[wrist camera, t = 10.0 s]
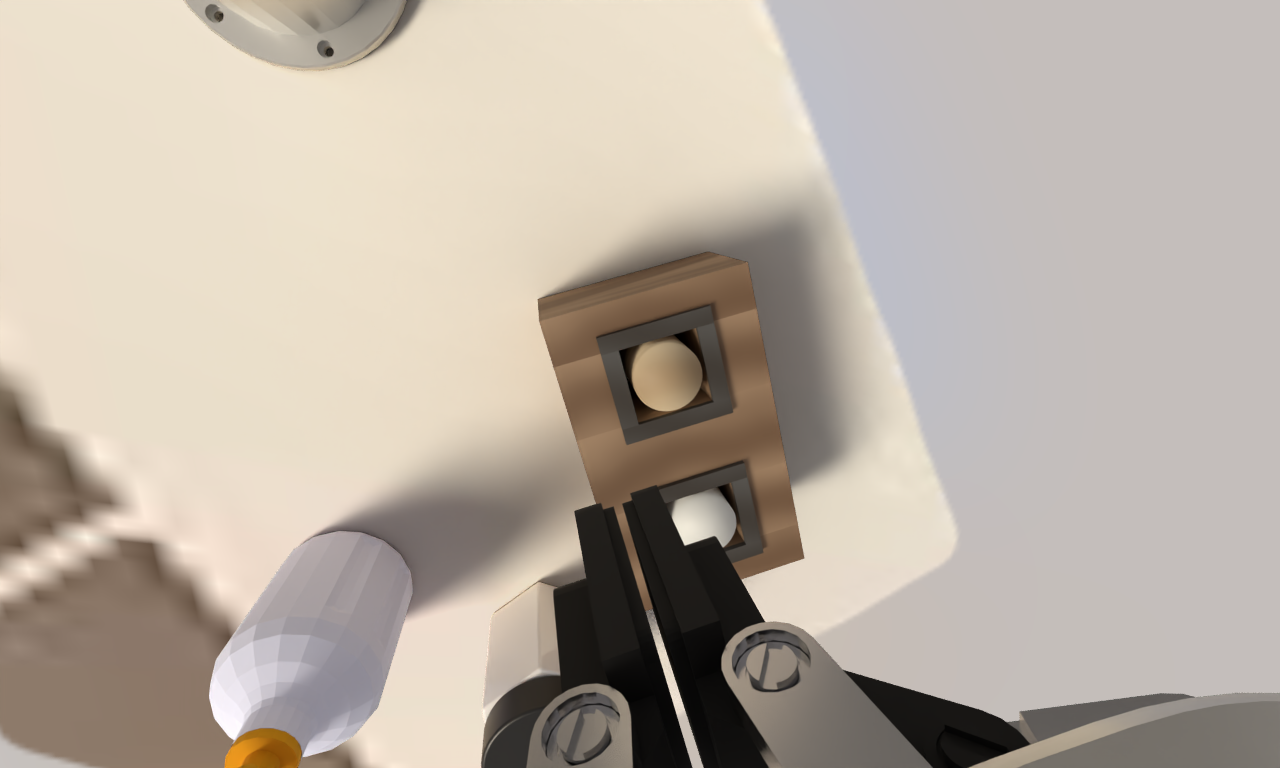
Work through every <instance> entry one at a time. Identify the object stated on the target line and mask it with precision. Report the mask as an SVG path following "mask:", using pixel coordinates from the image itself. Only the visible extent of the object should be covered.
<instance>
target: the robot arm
mask: <svg viewBox="0 0 1280 768" xmlns="http://www.w3.org/2000/svg"><path fill="white" fill-rule="evenodd" d="M406 1H407V0H184V2H185V3H186V4H187V6H188V7H189V8H190V10H191V11H192V12H193V13H194V14H195V15H196V16H197V17H198V18H199V19H200V20H201V21H202V22H203V23H204V24H205V25H206V26H207V27H208V28H209V29H210V30H211V31H213V32H214V33H216V34H217V35H218V36H220V37H221V38H222V39H224V40H225V41H227V42H228V43H229V44H231V45H232V46H234V47H236V48H237V49H239V50H241V51H243V52H245V53H246V54H248V55H250V56H252V57H255V58H257V59H260V60H262V61H265V62H267V63H270V64H272V65H275V66H279V67H284V68H289V69H294V70H305V71H322V70H327V69H333V68H338V67H343V66H345V65H347V64H350V63H352V62H355V61H357V60H359V59H362V58H363V57H364V56H366V55H367V54H369V53H370V52H371V51H373V50H374V49H376V48H377V47H378V46H379V45H380V44H381V43H382V42H383V41H384V40H385V39H386V37H387V36H388V35H389V34H390V33H391V32H392V31H393V29H394V27H395V25H396V24H397V22H398V20H399V18H400V16H401V15H402V13H403V11H404V7H405V4H406ZM221 13H223V14H224V17H223V20H222V21H221V22H219V20H218V16H219V14H221ZM329 48H332V49H333V50H334V54H333V56H331V57H328V56H327V55H326V51H327V49H329ZM630 495H631V499H632V500H631V501H628V502H625V503H622V505H623V509H624V512H625V516H626V519H627V522H628V526H629V529H630V533H631V536H632V539H633V543H634V546H635V550H636V553H637V556H638V560H639V563H640V567H641V570H642V573H643V577H644V580H645V584H646V587H647V590H648V594H649V597H650V601H651V604H652V607H653V611H654V614H655V617H656V621H657V624H658V627H659V630H660V633H661V636H662V640H663V643H664V646H665V649H666V652H667V655H668V658H669V661H670V664H671V668H672V671H673V674H674V677H675V680H676V683H677V686H678V689H679V692H680V696H681V699H682V702H683V705H684V708H685V711H686V714H687V717H688V720H689V723H690V727H691V730H692V733H693V736H694V739H695V742H696V745H697V748H698V751H699V755H700V758H701V761H702V764H703V767H704V768H1280V693H1232V694H1223V695H1213V696H1204V697H1193V696H1189V695H1185V694H1164V693H1163V694H1162V693H1160V694H1153V695H1145V696H1137V697H1129V698H1122V699H1114V700H1106V701H1098V702H1090V703H1083V704H1076V705H1067V706H1060V707H1052V708H1044V709H1037V710H1028V711H1020V712H1019V714H1020V721H1013V722H1005V721H1004V720H1002V719H1001V718H999V717H996V716H994V715H992V714H989V713H986V712H984V711H982V710H979V709H975V708H972V707H969V706H965V705H962V704H958V703H955V702H951V701H948V700H945V699H941V698H937V697H934V696H931V695H927V694H924V693H920V692H917V691H914V690H910V689H907V688H903V687H900V686H896V685H893V684H890V683H886V682H883V681H879V680H876V679H872V678H869V677H865V676H862V675H858V674H855V673H852V672H848V671H845V670H842V669H841V667H840V666H839V665H838V664H837V663H836V662H835V661H834V660H833V659H832V658H831V656H830V655H829V654H828V653H827V652H826V651H825V650H824V649H823V648H822V647H821V646H820V644H819V643H818V642H817V641H816V640H815V639H814V638H813V637H812V636H811V635H809V634H808V633H807V632H806V631H804V630H803V629H801V628H799V627H796V626H794V625H791V624H789V623H782V622H765V621H764V619H763V617H762V616H761V614H760V612H759V610H758V609H757V607H756V605H755V603H754V602H753V600H752V598H751V596H750V595H749V593H748V591H747V589H746V588H745V586H744V584H743V582H742V581H741V579H740V577H739V575H738V573H737V572H736V570H735V568H734V566H733V565H732V563H731V561H730V559H729V558H728V556H727V554H726V552H725V551H724V549H723V547H722V545H721V544H720V542H719V540H718V539H717V537H715V536H712V537H709V538H706V539H703V540H700V541H697V542H694V543H691V544H688V545H684V543H683V541H682V539H681V536H680V534H679V532H678V530H677V528H676V526H675V524H674V521H673V519H672V517H671V515H670V513H669V511H668V509H667V506H666V504H665V502H664V500H663V498H662V496H661V494H660V491H659V489H658V487H657V485H654V486H651V487H648V488H645V489H642V490H638V491H635V492H632V493H630ZM575 517H576V523H577V528H578V534H579V539H580V545H581V551H582V556H583V562H584V567H585V573H586V579H583V580H580V581H577V582H574V583H571V584H568V585H565V586H562V587H559V588H556V589H554V590H553V600H554V611H555V622H556V634H557V645H558V656H559V667H560V678H561V689H562V694H561V695H559V696H558V697H556V698H555V699H554V700H553V701H552V702H551V703H550V704H549V705H548V706H547V707H546V708H545V709H544V710H543V711H542V713H541V714H540V716H539V718H538V719H537V721H536V722H535V725H534V728H533V731H532V735H531V738H530V746H529V753H528V760H527V768H692V765H691V761H690V758H689V755H688V752H687V748H686V745H685V741H684V738H683V735H682V732H681V728H680V725H679V721H678V718H677V715H676V711H675V708H674V705H673V702H672V698H671V695H670V692H669V688H668V685H667V682H666V678H665V675H664V672H663V668H662V665H661V662H660V658H659V655H658V652H657V648H656V645H655V642H654V638H653V635H652V632H651V628H650V625H649V622H648V619H647V615H646V612H645V609H644V605H643V602H642V599H641V595H640V592H639V589H638V585H637V582H636V579H635V576H634V572H633V569H632V566H631V562H630V559H629V556H628V552H627V549H626V546H625V542H624V539H623V536H622V533H621V529H620V526H619V523H618V519H617V516H616V513H615V509H614V506H613V507H609V508H606V509H603V507H602V504H601V503H598V504H595V505H592V506H588V507H585V508H582V509H579V510H576V511H575Z"/></svg>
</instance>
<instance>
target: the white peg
mask: <svg viewBox="0 0 1280 768" xmlns="http://www.w3.org/2000/svg"><path fill="white" fill-rule="evenodd" d="M665 504H666V506H667V509H668V511H669V513H670V515H671V517H672V519H673V521H674V524H675V526H676V528H677V530H678V532H679V534H680V536H681V539H682V541H683V543H684V545H688V544H691V543H694V542H697V541H700V540H703V539H706V538H709V537H712V536H715V537H717V539H718V540H719V542H720V544H721V545H722V547H724V546H726V545H727V544H728V542H729V541H730V540H731V538H732V537H733V535H734V532H735V529H736V516H735V513H734V511H733V509H732V508H731V506H730V505H729V503H728V502H727V500H726V499H725V497H724V496H723V494H722V493H721V491H720V490H719V488H718V487H715V488H712V489H709V490H706V491H703V492H699V493H696V494H693V495H690V496H687V497H684V498H681V499H677V500H674V501H671V502H668V503H665Z"/></svg>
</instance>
